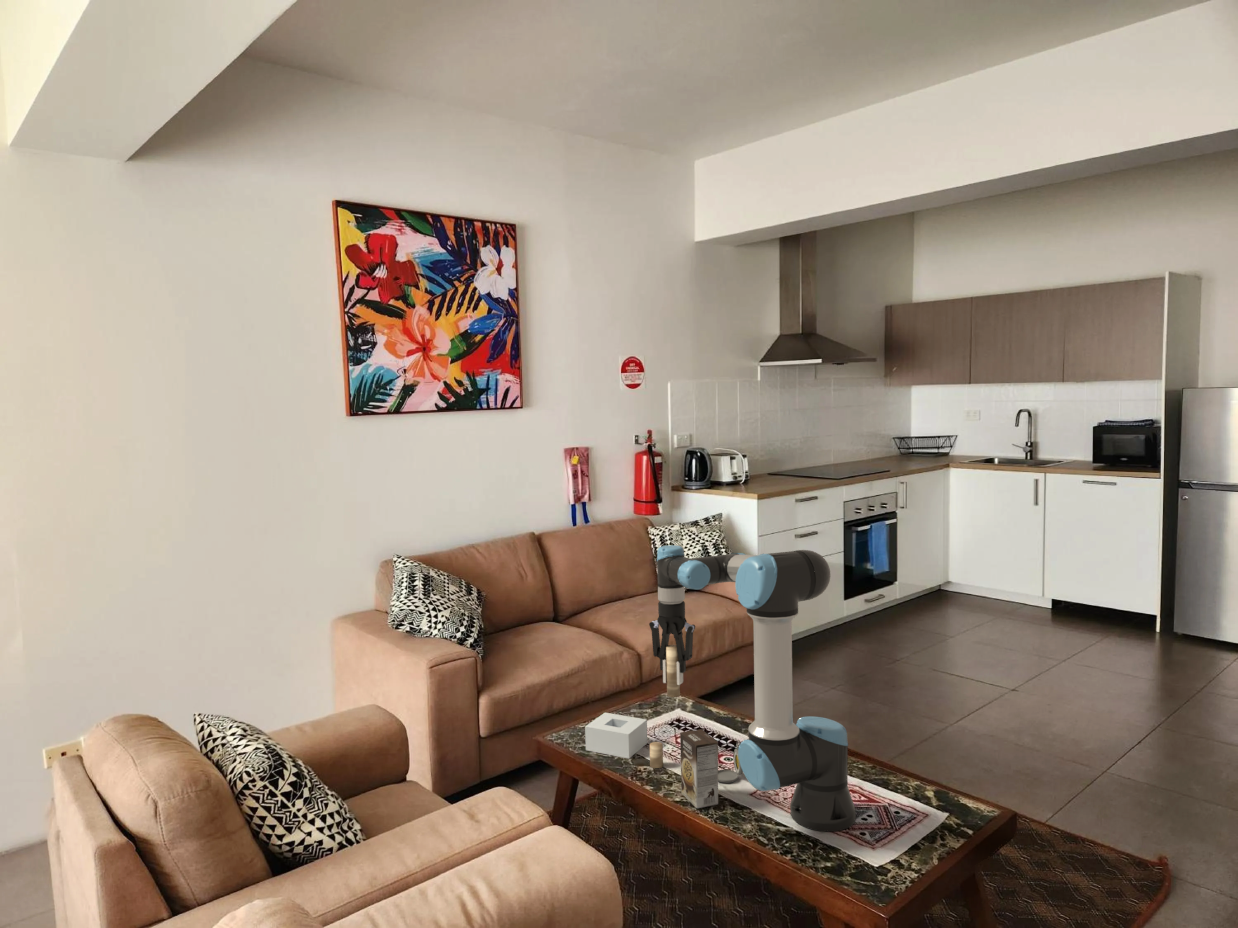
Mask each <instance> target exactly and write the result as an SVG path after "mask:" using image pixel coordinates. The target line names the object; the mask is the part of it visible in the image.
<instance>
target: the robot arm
mask: <svg viewBox="0 0 1238 928" xmlns="http://www.w3.org/2000/svg"><path fill="white" fill-rule="evenodd" d="M684 551H685V550H684V548H683V547H682V546H681V545H674V544H672V545H670V544H669V545H662V546H659V547H658V548H657V551H656V553H657V554H656V555H657V556H656V558H657V559H656V568H657V569H656V571H657V572H656V573H657V600H658V603H657V606H658V607H657V608H658V609H657V610H658V612H657V613H658V617H657V620H652V621H651V622H649V623H648V625H649V628H650V630H651V639H652V640H651V641H652V655H653V656H654V657H655V658H659V669H660V671H662V683H663V684H667V665H666V646H667V645H669V641H670V635H671V634H672V635H673V638H674V641H675V645H676V647H677V652H678V657H679V661H677V685H680V686H681V684H683V683H684V673H686V671H687V665H686V664H687V662H688V661H690V660H691V659H692V658H693V649H694V648H693V646H694V645H693V642H694V641H693V640H694V632H695V629H696V625H695V624H690V623H689V622H687V619H686V602H685V601H684V600H685V599H686V597H685V596H686V593H685V588H687V589H689V590H702V589H703V588H706V587H707V585H708V586H709V585H715V584H719V583H720V584H721V583H734V584H735V592H736V595H737V597H738V598H737V599H738V601H739V603H740V605H741V606H743V607H744V608H745V609H746V614H747V615H748V616H749V617H750V618H751V619H752V621H753V672H754V673H753V675H754V676H753V677H754V681H753V682H754V683H753V684H754V685H753V687H754V720H753V722H751V724H749V726H748V732H747V733H748V738H747V739H744V740H743V741H740V745H739V749H738V756H739V762H740V765H741V768H742V771H743V774H744V776H745V778H746V780H747V781H748V783H749V784H750V785H751V786H752V787H754V788H755V789H756V790H758V791H762V792H768V791H777V790H779V789H782V788H784V787H788V786H793V785H795V784H796V786H795V789H794V792H793V795H792V797H791V801H790V805H789V806H790V807H789V808H790V811H789V812H790V817H791V818H792V819H793V821H794V822H795V823H797V824H798V825H800V826H802V827H804V828H807V829H810V830H813V831H819V832H838V831H839V832H840V831H843V830H846V829H849V828H850V827H852V826H853V825H854V824H855V823H856V807H855V804H854V801H853V799H852V795H851V793H850V790H849V789H850V788H849V785H848V784H849V783H848V777H849V776H848V775H849V774H848V771H849V770H848V765H849V764H848V763H849V762H848V759H849V758H848V756H849V755H848V754H849V752H848V751H849V750H848V748H849V747H848V746H849V742H848V733H847V732H848V731H847V730H846V727H845V726H844V725H843V724H841V723H840V722H838V721H836V720H833V719H830V718H826V717H822V716H813V715H812V716H802V717H800V718H798V719H797V721H796V723H795V722H794V719H793V708H794V707H793V706H794V705H793V642H792V641H793V639H792V638H793V637H792V636H793V635H792V631H793V630H792V625H793V624H792V621H793V620H794V619H795V618H796V617H797V616H798V614H799V602H803V601H810V600H813V599H815V598H817V597H819V596H820V595H822V594H823V593H824V592H825V591H826V589H827V588H828V586H829V585H830V582H831V569H830V566H829V564H828V562H827V560H826V559H825V558H824V556H822V555H821V554H820V553H818V552H815V551H813V550H808V549H798V550H792V551H791V550H790V551H789V550H788V551H782V552H772V553H771V552H770V553H760V554H746V553H745V552H744V553H743V552H732V553H729V554H728V553H727V554H719V555H711V556H701V557H693V558H692V557H691V558H690V557H685V552H684ZM659 627H660V628H661V630H662V632H661V637H660V628H659ZM684 628H685V632H686V633H685V642H684V639H683V638H684V637H683V629H684ZM684 643H685V644H684Z"/></svg>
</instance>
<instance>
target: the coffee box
mask: <svg viewBox="0 0 1238 928" xmlns="http://www.w3.org/2000/svg"><path fill="white" fill-rule="evenodd" d="M679 736H680V737H679V741H680V744H679V745H680V778H681V779H680V780H681V781H680V783H681V784H680V785H681V786H680V787H681V789H680V790H681V791H680V793H681V795H682V796H684V797H685V798H686V800H688V801H689V803H691V805H692V806H694V808H695V809H702V808H706V807H710V806H716V805H719V781H718V770H719V742H718V741H717V739H715V738H713V737H712V735H709V734H708V732H706V731H704V730H703V729H702V728H701V729H700V728H699V729H693V730H687V731H682V732H679Z"/></svg>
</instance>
